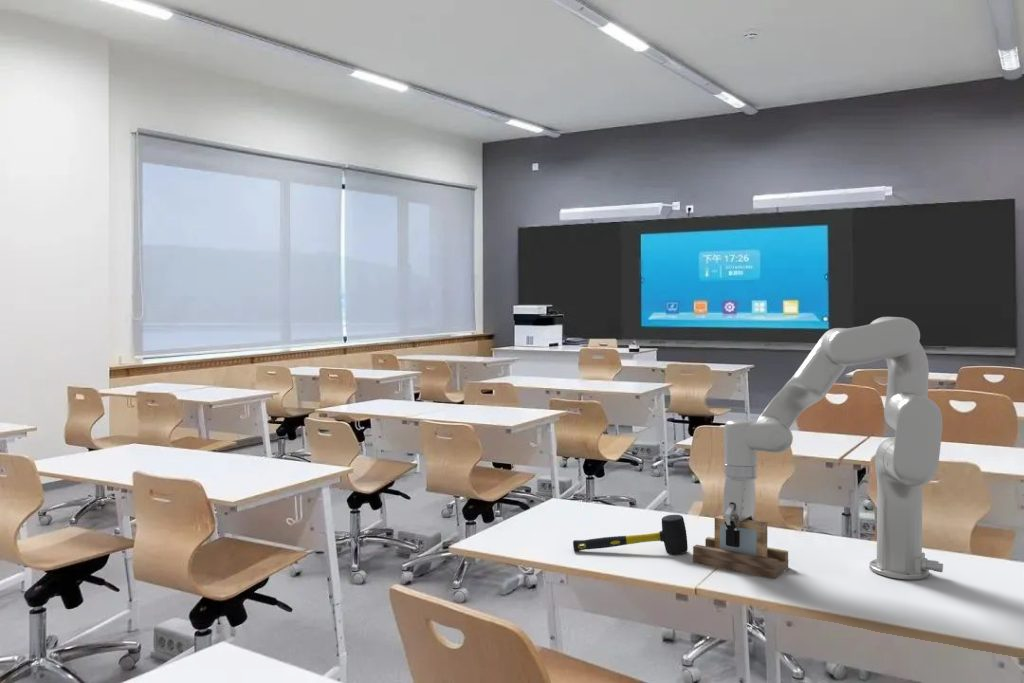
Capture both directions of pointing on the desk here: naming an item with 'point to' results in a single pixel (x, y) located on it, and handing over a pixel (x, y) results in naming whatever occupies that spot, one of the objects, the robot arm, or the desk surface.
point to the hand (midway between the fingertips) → (740, 541)
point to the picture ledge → (741, 560)
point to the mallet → (646, 537)
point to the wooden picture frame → (743, 536)
